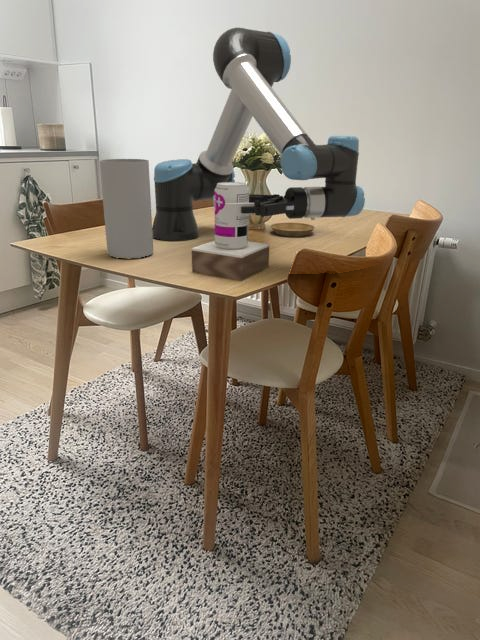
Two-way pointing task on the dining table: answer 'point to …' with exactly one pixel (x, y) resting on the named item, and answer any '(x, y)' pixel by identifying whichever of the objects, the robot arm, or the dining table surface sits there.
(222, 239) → the supplement can
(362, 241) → the dining table surface
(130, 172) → the cylinder vase
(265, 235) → the dining table surface
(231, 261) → the block
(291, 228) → the plant saucer
